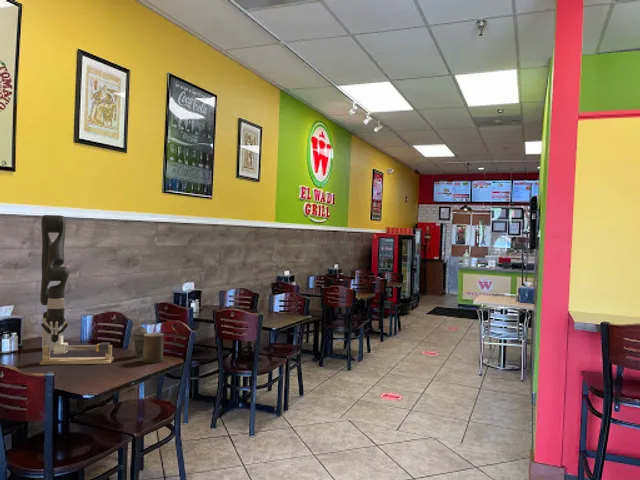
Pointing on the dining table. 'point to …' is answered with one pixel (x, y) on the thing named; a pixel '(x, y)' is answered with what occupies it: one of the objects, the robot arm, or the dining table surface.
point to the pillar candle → (153, 347)
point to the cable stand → (100, 348)
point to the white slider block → (60, 346)
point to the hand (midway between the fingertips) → (54, 342)
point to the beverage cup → (139, 340)
